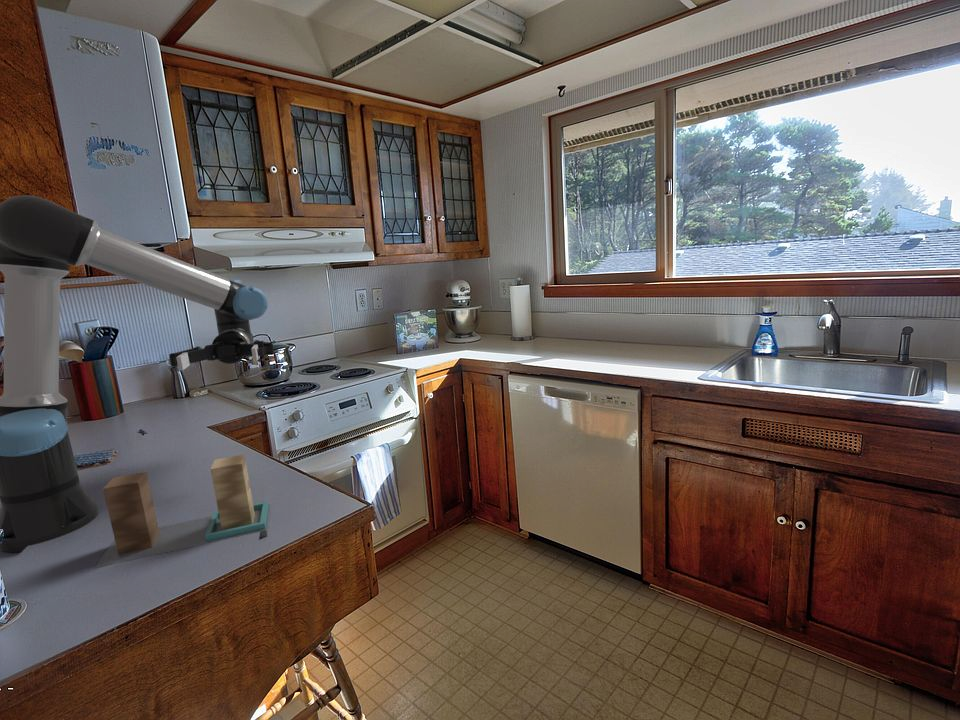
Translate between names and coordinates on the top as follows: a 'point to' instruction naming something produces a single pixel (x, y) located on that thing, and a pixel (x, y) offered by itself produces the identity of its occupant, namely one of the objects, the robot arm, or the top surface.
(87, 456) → the woven mat
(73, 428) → the top surface
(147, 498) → the walnut pillar
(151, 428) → the top surface
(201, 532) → the build plate
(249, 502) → the oak pillar
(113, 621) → the top surface
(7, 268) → the robot arm
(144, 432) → the chef's knife
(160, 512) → the top surface
